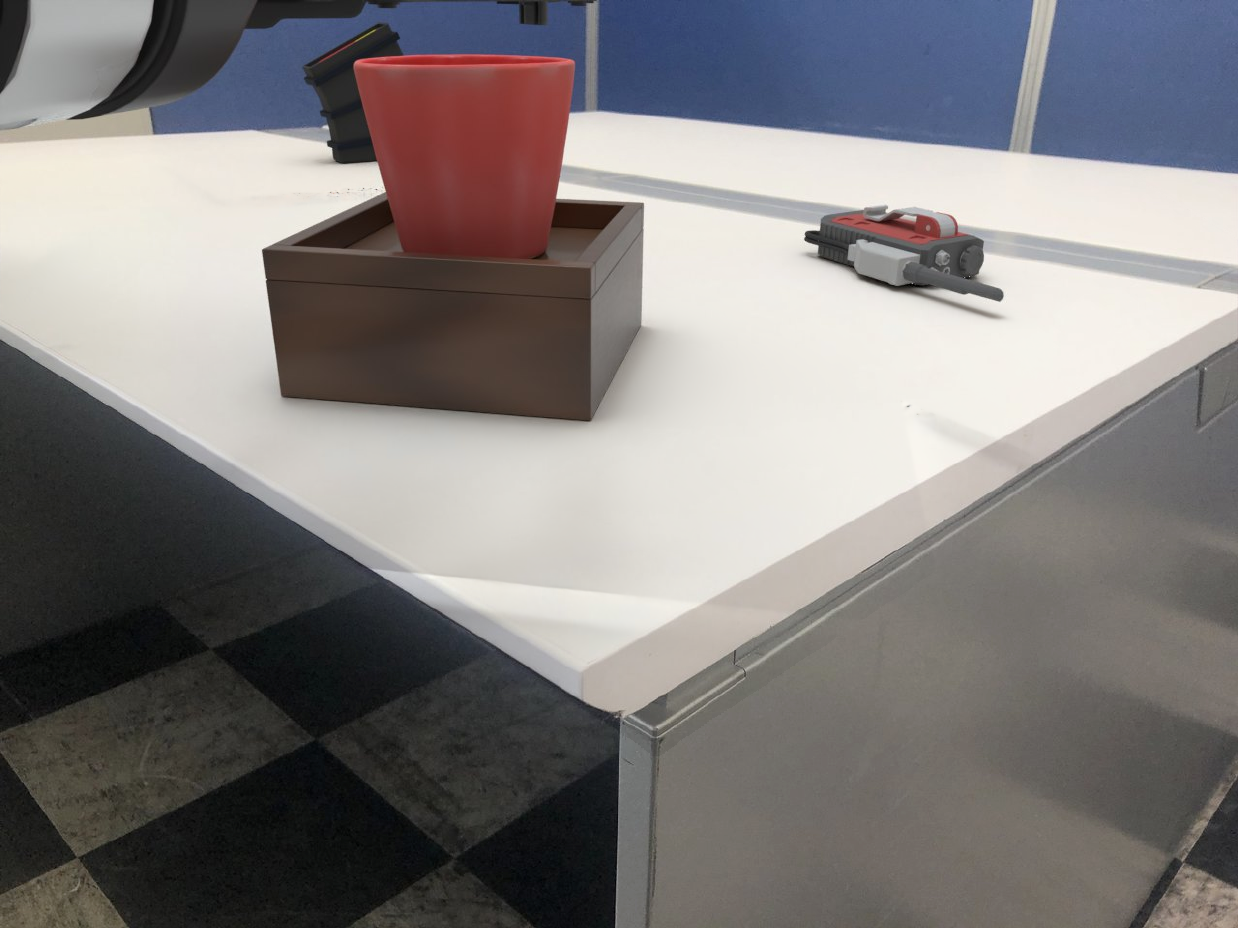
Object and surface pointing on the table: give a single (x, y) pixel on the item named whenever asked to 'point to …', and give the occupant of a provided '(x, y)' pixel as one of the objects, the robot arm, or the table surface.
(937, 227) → the walkie-talkie
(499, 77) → the flower pot
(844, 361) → the table surface
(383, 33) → the magazine
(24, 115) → the robot arm
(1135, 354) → the table surface
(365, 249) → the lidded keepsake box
